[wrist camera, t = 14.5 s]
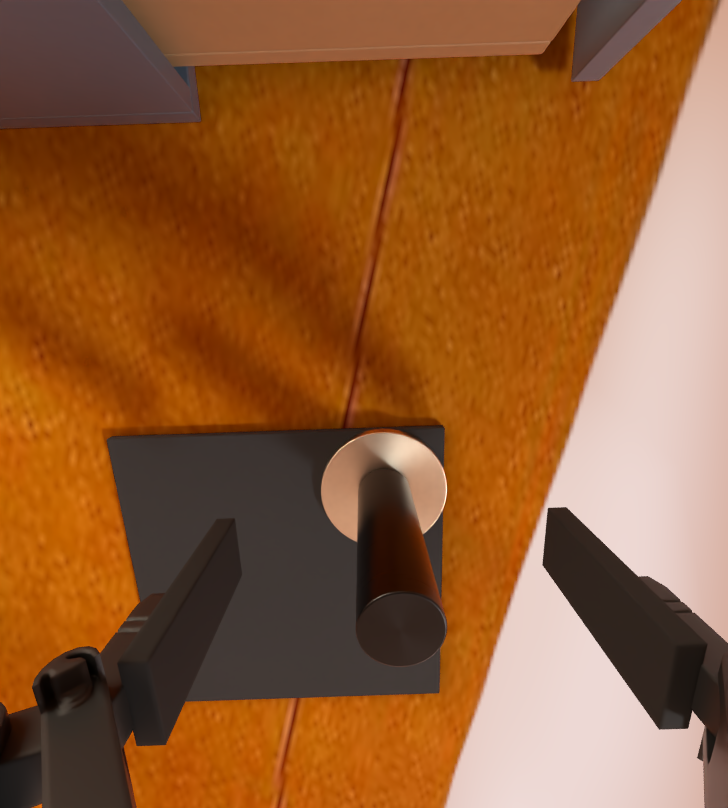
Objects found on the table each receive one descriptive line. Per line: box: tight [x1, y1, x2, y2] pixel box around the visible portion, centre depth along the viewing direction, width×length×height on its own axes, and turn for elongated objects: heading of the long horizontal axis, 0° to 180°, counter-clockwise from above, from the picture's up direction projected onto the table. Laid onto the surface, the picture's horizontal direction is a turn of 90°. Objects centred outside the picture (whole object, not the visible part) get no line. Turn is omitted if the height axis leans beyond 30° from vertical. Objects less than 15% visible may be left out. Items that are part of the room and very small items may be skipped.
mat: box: [107, 425, 445, 701], centre depth 22 cm, size 18×18×1 cm
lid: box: [321, 429, 447, 667], centre depth 16 cm, size 7×7×10 cm
